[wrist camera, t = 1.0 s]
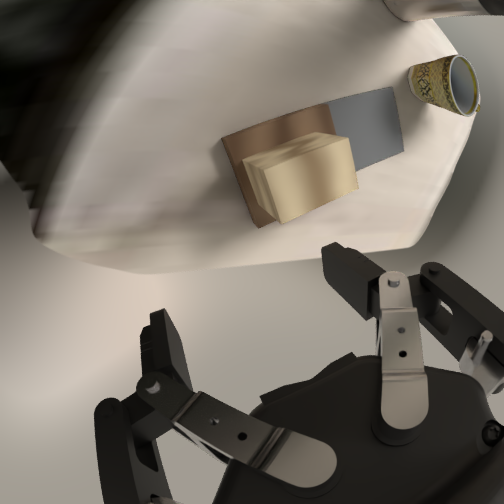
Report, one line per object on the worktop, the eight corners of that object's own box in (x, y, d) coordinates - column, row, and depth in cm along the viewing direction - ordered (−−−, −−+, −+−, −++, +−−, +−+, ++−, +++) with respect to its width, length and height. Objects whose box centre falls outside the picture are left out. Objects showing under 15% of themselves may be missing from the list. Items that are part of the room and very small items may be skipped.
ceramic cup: (395, 90, 36) (444, 93, 27) (407, 44, 33) (454, 41, 24) (436, 126, 41) (479, 136, 33) (447, 84, 38) (489, 89, 29)
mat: (390, 86, 35) (392, 86, 35) (402, 150, 41) (404, 151, 41) (319, 104, 34) (321, 104, 33) (338, 177, 39) (339, 177, 39)
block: (315, 132, 33) (348, 137, 27) (326, 174, 36) (358, 188, 30) (242, 159, 32) (263, 170, 26) (258, 204, 35) (281, 224, 29)
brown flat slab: (319, 104, 34) (328, 104, 32) (340, 183, 40) (348, 187, 38) (221, 138, 32) (225, 139, 30) (253, 223, 38) (258, 228, 37)
